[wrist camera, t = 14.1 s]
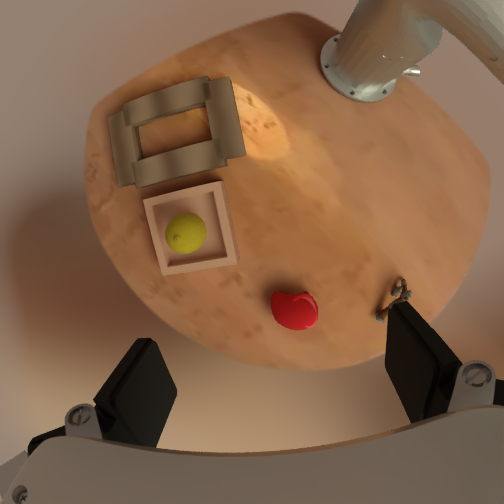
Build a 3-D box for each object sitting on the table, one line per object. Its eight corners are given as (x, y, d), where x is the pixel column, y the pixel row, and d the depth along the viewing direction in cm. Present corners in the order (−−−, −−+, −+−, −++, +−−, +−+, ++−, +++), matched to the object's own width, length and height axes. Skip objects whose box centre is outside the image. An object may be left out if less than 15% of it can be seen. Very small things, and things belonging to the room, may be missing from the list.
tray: (223, 180, 40) (220, 180, 37) (239, 257, 43) (237, 263, 40) (151, 197, 41) (143, 199, 38) (169, 269, 44) (162, 275, 41)
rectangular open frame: (230, 76, 35) (227, 70, 33) (247, 161, 39) (246, 161, 36) (114, 113, 38) (107, 111, 35) (127, 191, 41) (120, 193, 39)
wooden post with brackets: (411, 278, 41) (415, 297, 38) (381, 304, 46) (383, 323, 43) (404, 273, 41) (408, 292, 38) (374, 301, 46) (376, 320, 43)
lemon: (212, 210, 40) (198, 218, 32) (211, 246, 42) (197, 263, 34) (176, 208, 40) (156, 216, 33) (176, 243, 42) (157, 259, 34)
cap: (330, 298, 40) (302, 293, 37) (320, 335, 40) (292, 335, 37) (295, 288, 47) (268, 283, 44) (287, 322, 47) (259, 319, 44)
